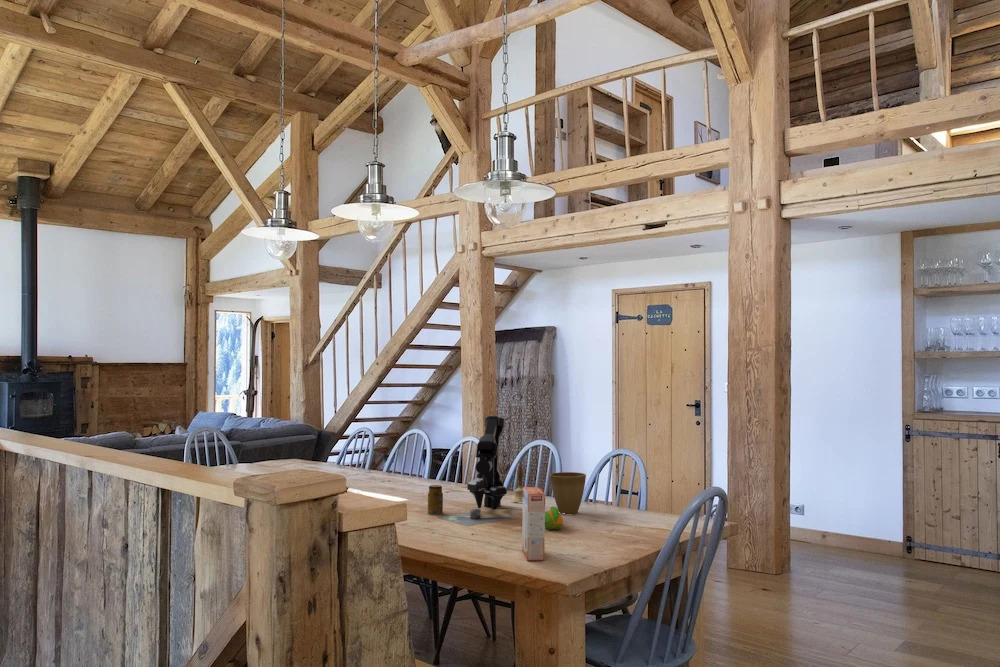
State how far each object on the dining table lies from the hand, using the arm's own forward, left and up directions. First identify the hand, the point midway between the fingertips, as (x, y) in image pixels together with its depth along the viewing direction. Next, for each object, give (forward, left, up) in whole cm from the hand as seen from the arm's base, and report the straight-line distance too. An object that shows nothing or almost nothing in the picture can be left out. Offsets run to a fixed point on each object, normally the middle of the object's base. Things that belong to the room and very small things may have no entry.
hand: (486, 509), depth 306 cm
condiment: (+16, -13, -3) cm, 21 cm away
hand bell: (-32, -16, -3) cm, 36 cm away
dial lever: (+8, +6, -1) cm, 10 cm away
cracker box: (+29, +59, -3) cm, 65 cm away
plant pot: (-30, +16, -3) cm, 34 cm away
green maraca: (-7, +31, -3) cm, 32 cm away
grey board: (+8, +4, -3) cm, 9 cm away
